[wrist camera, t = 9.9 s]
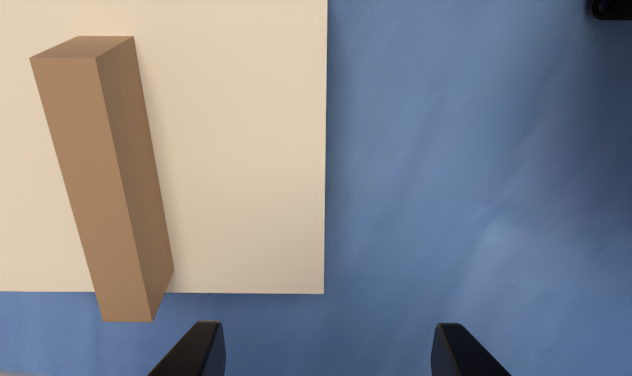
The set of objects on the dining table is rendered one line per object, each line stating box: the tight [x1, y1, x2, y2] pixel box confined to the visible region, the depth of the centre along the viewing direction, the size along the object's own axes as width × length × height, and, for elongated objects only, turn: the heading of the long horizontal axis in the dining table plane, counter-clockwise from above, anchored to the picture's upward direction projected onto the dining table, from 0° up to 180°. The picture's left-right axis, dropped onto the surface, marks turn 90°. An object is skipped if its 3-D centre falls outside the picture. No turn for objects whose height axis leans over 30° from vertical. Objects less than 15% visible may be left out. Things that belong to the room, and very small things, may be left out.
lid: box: [0, 0, 327, 322], centre depth 14 cm, size 12×10×4 cm
